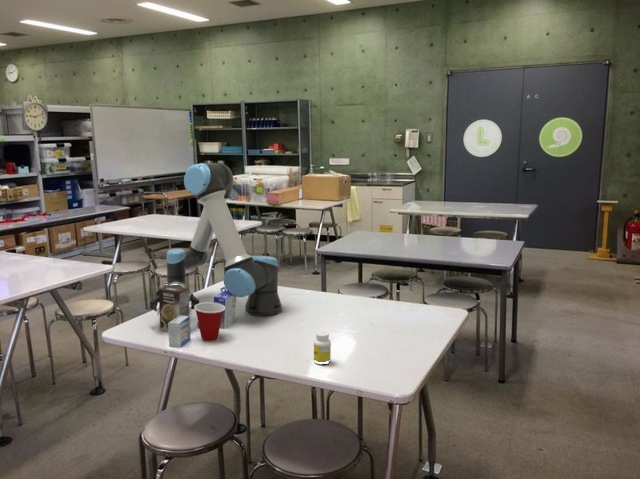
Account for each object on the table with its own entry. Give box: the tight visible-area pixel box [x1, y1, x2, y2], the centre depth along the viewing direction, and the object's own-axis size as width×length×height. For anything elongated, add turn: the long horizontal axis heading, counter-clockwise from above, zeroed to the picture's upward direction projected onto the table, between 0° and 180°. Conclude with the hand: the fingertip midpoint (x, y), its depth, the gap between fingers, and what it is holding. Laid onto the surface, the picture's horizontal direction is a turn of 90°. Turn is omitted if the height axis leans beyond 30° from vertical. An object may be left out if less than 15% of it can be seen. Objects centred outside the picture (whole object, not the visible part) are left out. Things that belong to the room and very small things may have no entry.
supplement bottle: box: [313, 330, 332, 362], centre depth 169 cm, size 5×5×10 cm
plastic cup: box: [194, 302, 225, 342], centre depth 187 cm, size 11×11×12 cm
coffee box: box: [158, 285, 190, 333], centre depth 194 cm, size 9×6×16 cm
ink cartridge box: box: [213, 286, 237, 330], centre depth 202 cm, size 10×6×14 cm, turn 165°
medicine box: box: [167, 315, 191, 348], centre depth 183 cm, size 8×4×9 cm, turn 168°
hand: (174, 311), depth 190 cm, fingers closed on coffee box, 11 cm apart
